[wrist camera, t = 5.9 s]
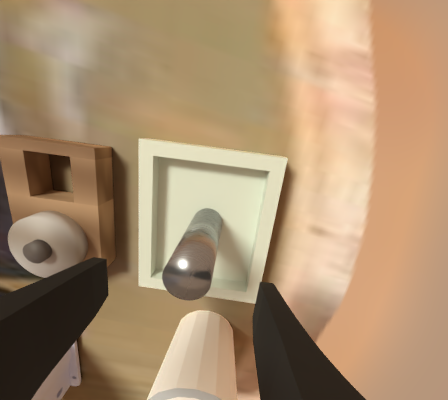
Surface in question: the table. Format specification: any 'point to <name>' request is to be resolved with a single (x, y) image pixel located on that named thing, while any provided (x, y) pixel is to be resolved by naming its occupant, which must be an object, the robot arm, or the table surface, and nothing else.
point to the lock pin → (194, 257)
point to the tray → (214, 199)
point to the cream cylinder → (198, 361)
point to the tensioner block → (58, 204)
